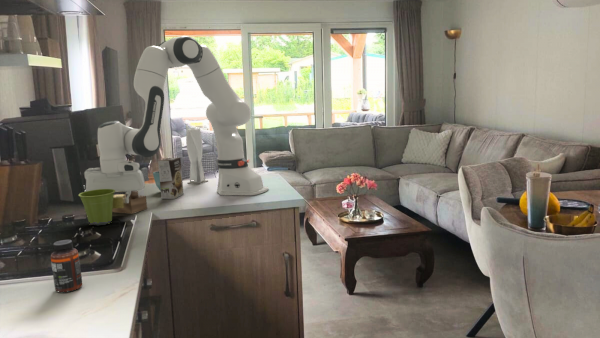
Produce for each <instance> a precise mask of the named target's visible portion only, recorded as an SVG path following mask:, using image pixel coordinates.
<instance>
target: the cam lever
mask: <svg viewBox="0 0 600 338" xmlns="http://www.w3.org/2000/svg"><path fill="white" fill-rule="evenodd" d="M140 170H141V172H142V174H143V177H144V182H148V181H150V178H149V171H148V167H142V168H140ZM124 193H125V195H126V198H127V195H128V194H126V191H124Z"/></svg>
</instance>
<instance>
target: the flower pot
mask: <svg viewBox="0 0 600 338" xmlns="http://www.w3.org/2000/svg"><path fill="white" fill-rule="evenodd" d="M152 175H153V180H154V183H155V185H156V187H157V189H158V190H159V191H160V192H161V189H160V177H159V170H158V171H154V172H152Z"/></svg>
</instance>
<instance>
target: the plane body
mask: <svg viewBox="0 0 600 338" xmlns="http://www.w3.org/2000/svg"><path fill="white" fill-rule="evenodd" d="M122 194H123V193H122ZM122 194H121V193H120V194H119V193H116V194H115V193H114V195H122ZM125 197H126V194H125ZM147 203H148V202H147V196H146V195H139V190H137V191H131V195H130V197H129V203H126V206H125V207H124V208H114V209H112V213H119V214H131V215H132V214H136V213H138V212H141V211H145V210H148V204H147Z"/></svg>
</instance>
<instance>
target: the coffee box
mask: <svg viewBox="0 0 600 338" xmlns="http://www.w3.org/2000/svg"><path fill="white" fill-rule="evenodd" d="M181 159H182V158H181V157H167V158H164V159H160V160H158V161H157V162H158V163H157V165H158V171H159V177H160V189H161V191H160V196H161V197H160V198H161V199H163V200H165V199H167V200H168V199H169V200H170V199H171V200H173V199H174V200H175V199H177V198H179V197H181V196H183V195H184V186H183V171H182V161H181Z"/></svg>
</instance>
